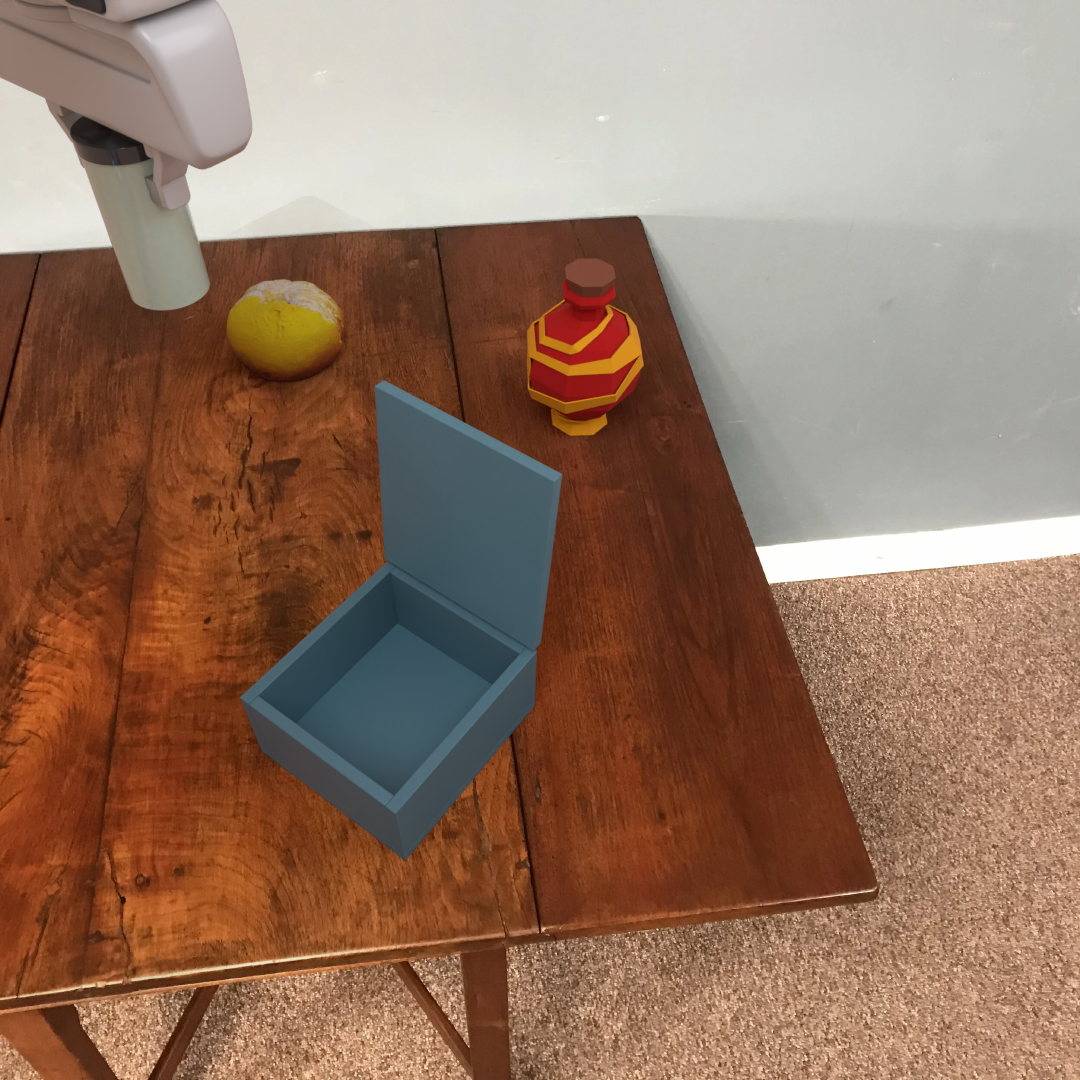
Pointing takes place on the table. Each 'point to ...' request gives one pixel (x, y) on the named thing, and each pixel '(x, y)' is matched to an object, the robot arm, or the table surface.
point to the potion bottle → (583, 351)
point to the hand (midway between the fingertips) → (137, 186)
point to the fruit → (285, 330)
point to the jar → (141, 221)
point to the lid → (466, 513)
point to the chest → (393, 705)
